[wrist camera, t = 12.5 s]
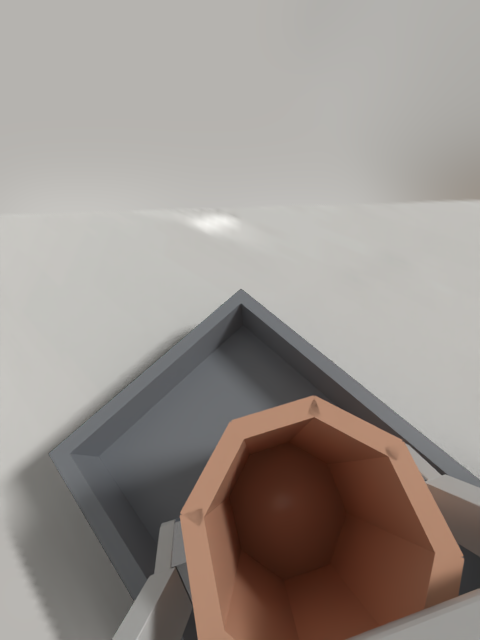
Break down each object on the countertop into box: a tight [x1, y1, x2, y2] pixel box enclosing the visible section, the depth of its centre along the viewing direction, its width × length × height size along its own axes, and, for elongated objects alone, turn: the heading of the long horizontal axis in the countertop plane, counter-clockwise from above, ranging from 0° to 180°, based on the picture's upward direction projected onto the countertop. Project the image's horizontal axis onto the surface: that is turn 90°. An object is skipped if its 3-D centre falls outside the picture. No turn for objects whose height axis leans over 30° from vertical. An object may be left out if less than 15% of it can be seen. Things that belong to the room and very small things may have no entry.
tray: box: [49, 289, 480, 640], centre depth 15 cm, size 20×14×4 cm
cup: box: [180, 396, 464, 640], centre depth 11 cm, size 6×6×8 cm
